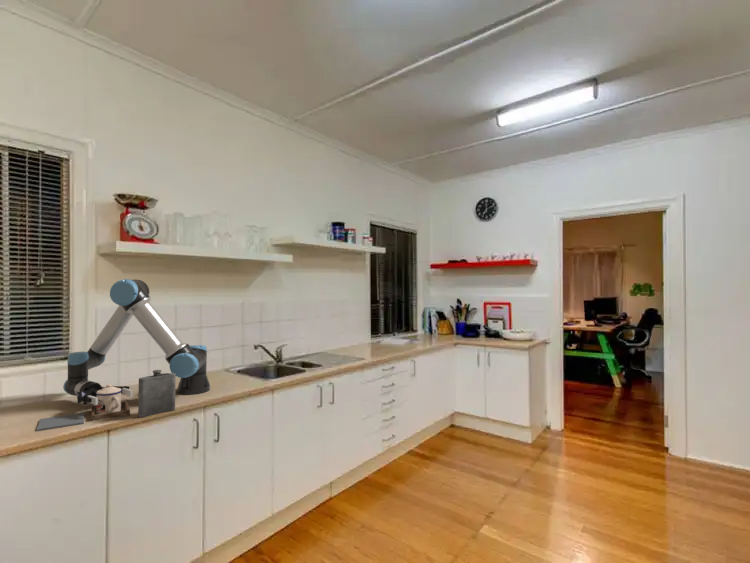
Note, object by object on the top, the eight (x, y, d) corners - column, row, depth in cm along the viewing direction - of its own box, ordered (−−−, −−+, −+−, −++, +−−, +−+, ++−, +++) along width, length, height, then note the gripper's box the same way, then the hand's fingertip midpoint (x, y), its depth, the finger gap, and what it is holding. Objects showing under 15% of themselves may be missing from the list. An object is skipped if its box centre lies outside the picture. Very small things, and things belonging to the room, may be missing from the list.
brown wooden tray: (127, 405, 179) (127, 400, 179) (129, 415, 166) (130, 410, 166) (91, 410, 172) (91, 405, 172) (91, 421, 159) (91, 416, 159)
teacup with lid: (91, 413, 168) (91, 385, 168) (114, 407, 176) (115, 380, 176) (105, 418, 162) (106, 389, 162) (129, 412, 170) (129, 384, 170)
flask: (136, 416, 165) (136, 372, 165) (172, 408, 176) (173, 367, 176) (139, 418, 163) (140, 373, 163) (176, 410, 173) (176, 368, 174)
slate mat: (84, 413, 167) (84, 412, 167) (83, 423, 156) (83, 422, 156) (40, 420, 159) (40, 418, 159) (36, 431, 148) (36, 429, 148)
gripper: (118, 392, 189) (144, 398, 178) (55, 405, 167) (80, 414, 157) (118, 376, 189) (144, 381, 178) (55, 387, 167) (80, 395, 157)
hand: (114, 397), depth 168 cm, fingers open, 13 cm apart
